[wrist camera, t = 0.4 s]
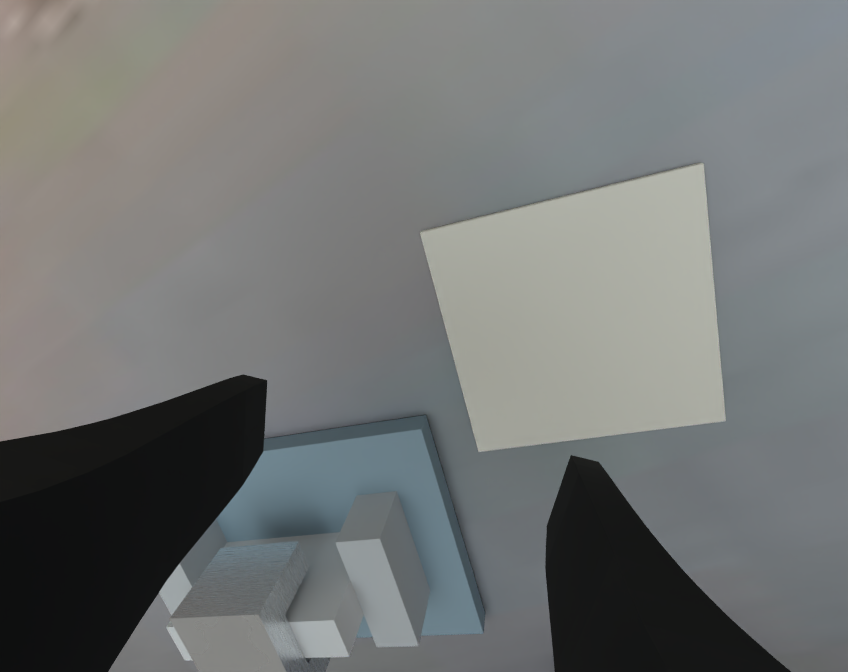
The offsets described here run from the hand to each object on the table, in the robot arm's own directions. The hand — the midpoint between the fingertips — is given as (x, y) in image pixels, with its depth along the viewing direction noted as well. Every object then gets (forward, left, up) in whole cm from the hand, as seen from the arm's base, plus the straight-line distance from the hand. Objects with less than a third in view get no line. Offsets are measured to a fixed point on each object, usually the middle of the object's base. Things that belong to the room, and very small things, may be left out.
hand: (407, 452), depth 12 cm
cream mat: (-1, -4, -10) cm, 11 cm away
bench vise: (-10, +11, -10) cm, 18 cm away
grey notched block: (-10, +11, -6) cm, 16 cm away
